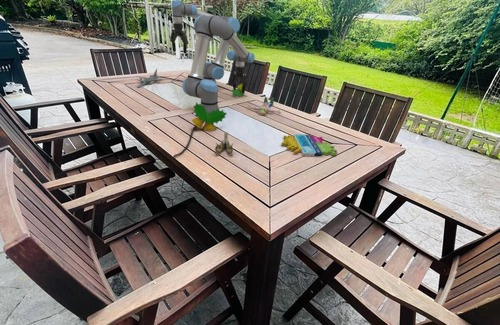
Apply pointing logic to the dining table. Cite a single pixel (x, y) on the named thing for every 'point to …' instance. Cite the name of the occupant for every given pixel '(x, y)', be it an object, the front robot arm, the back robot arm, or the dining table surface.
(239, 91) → the green box with toys
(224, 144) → the jawbone
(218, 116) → the ornament
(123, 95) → the dining table surface
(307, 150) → the colourful gloves pack
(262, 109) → the toy
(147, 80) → the airplane
